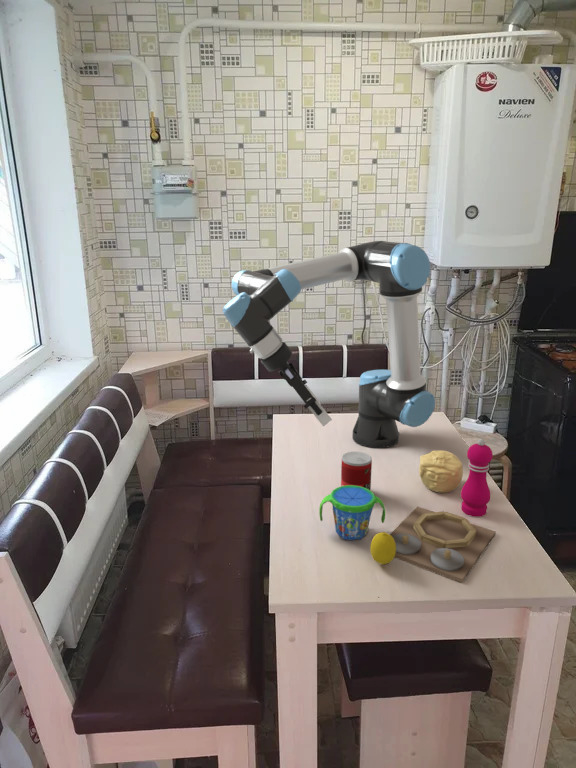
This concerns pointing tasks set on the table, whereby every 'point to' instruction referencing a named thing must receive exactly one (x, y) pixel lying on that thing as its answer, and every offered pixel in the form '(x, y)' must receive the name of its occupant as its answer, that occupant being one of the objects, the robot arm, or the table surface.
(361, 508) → the snack cup
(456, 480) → the sculpture
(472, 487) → the pepper mill
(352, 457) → the canned food
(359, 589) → the table surface
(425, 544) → the board
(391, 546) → the lemon
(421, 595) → the table surface
